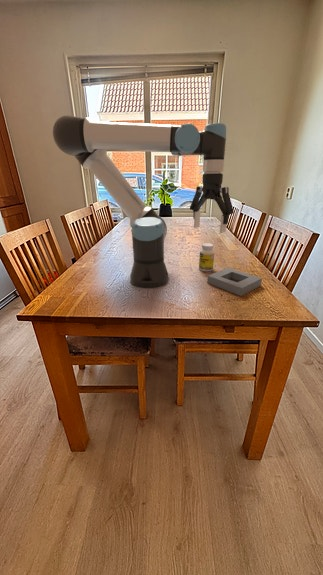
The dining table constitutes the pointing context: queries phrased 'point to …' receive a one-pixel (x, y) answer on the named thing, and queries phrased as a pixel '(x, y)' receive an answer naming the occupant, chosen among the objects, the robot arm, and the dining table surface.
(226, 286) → the bottle holder
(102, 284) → the dining table surface
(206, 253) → the pill bottle
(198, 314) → the dining table surface
